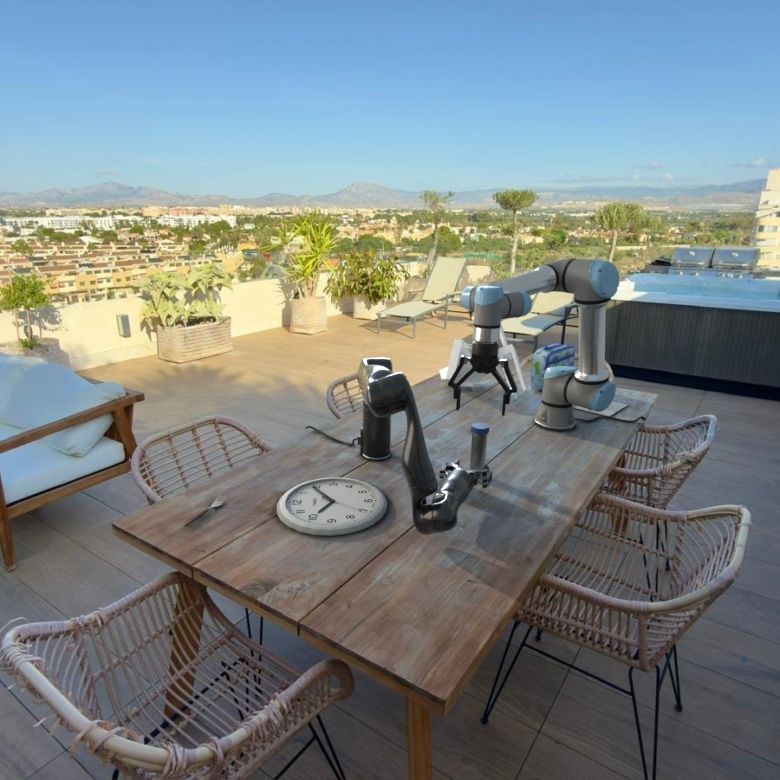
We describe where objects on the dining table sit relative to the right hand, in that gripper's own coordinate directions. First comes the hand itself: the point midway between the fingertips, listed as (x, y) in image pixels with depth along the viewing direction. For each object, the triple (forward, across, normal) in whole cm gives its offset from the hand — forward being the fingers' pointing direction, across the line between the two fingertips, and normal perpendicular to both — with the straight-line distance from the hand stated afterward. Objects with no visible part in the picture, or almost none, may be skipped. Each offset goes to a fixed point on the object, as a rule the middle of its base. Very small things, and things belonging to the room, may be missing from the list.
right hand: (480, 411), depth 156 cm
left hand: (+14, 0, +6) cm, 16 cm away
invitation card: (+21, -44, -83) cm, 96 cm away
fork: (+21, +65, +45) cm, 82 cm away
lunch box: (+21, -22, -105) cm, 109 cm away
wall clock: (+21, +35, +31) cm, 51 cm away
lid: (+5, 0, 0) cm, 5 cm away
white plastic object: (+21, +9, -86) cm, 89 cm away
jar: (+21, 0, 0) cm, 21 cm away
